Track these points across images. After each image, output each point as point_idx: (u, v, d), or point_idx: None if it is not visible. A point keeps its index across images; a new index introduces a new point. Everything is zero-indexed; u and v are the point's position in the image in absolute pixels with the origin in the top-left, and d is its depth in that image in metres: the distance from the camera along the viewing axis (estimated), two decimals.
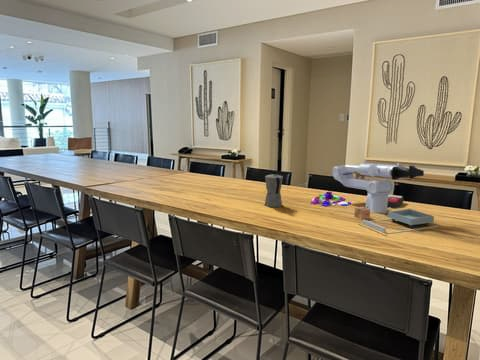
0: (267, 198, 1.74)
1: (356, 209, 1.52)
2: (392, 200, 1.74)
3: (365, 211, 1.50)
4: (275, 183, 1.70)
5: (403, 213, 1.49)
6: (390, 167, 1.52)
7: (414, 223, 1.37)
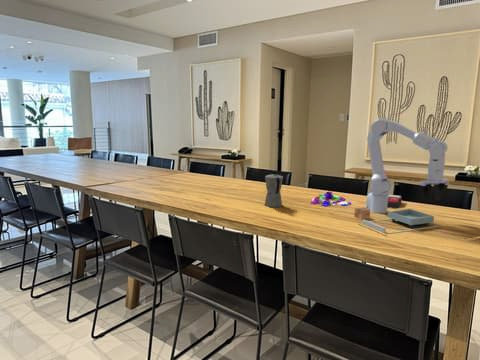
0: (267, 198, 1.74)
1: (356, 209, 1.52)
2: (393, 200, 1.75)
3: (365, 211, 1.50)
4: (275, 183, 1.70)
5: (403, 213, 1.49)
6: (436, 174, 1.42)
7: (414, 223, 1.37)
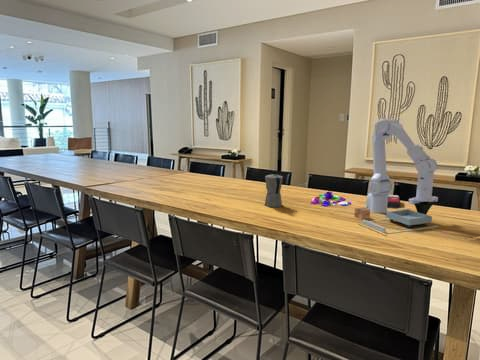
0: (267, 198, 1.74)
1: (356, 209, 1.52)
2: (394, 200, 1.75)
3: (365, 211, 1.50)
4: (275, 183, 1.70)
5: (401, 213, 1.49)
6: (424, 192, 1.42)
7: (412, 223, 1.36)
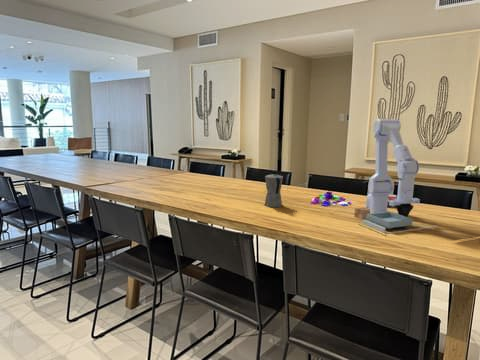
0: (267, 198, 1.74)
1: (356, 209, 1.52)
2: None
3: (365, 211, 1.50)
4: (275, 183, 1.70)
5: (382, 215, 1.45)
6: (405, 194, 1.38)
7: (392, 226, 1.32)
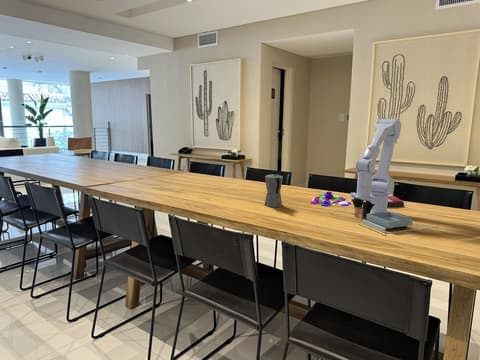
0: (267, 198, 1.74)
1: (356, 209, 1.52)
2: (397, 200, 1.75)
3: None
4: (275, 183, 1.70)
5: (382, 215, 1.45)
6: (357, 189, 1.51)
7: (392, 226, 1.32)
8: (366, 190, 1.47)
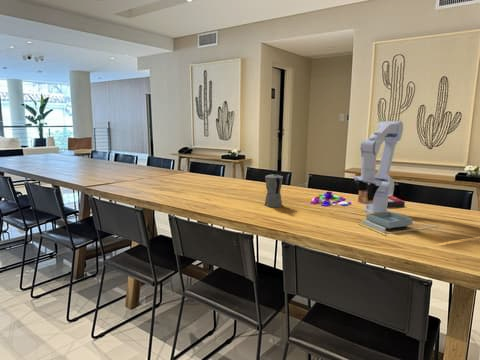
0: (267, 198, 1.74)
1: (360, 192, 1.49)
2: (397, 200, 1.76)
3: None
4: (275, 183, 1.70)
5: (382, 215, 1.45)
6: (361, 171, 1.48)
7: (392, 226, 1.32)
8: (371, 172, 1.44)
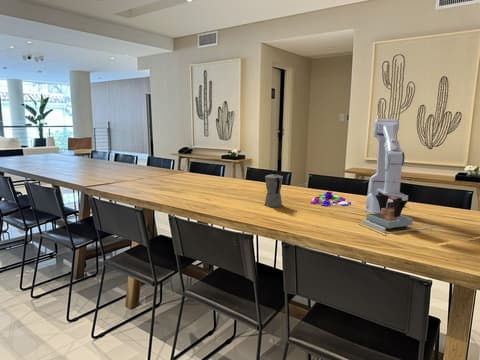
0: (267, 198, 1.74)
1: (383, 210, 1.39)
2: None
3: (393, 212, 1.37)
4: (275, 183, 1.70)
5: None
6: (384, 184, 1.38)
7: (392, 226, 1.32)
8: (396, 186, 1.34)
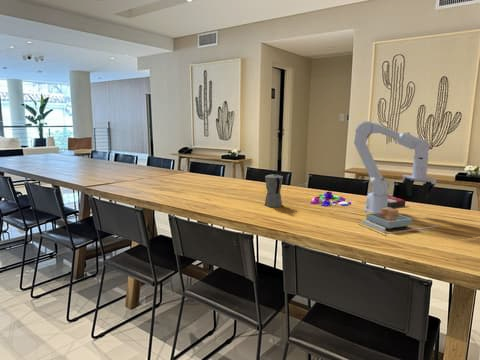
0: (267, 198, 1.74)
1: (383, 210, 1.39)
2: (398, 199, 1.77)
3: (393, 212, 1.37)
4: (275, 183, 1.70)
5: None
6: None
7: (392, 226, 1.32)
8: (424, 171, 1.49)
